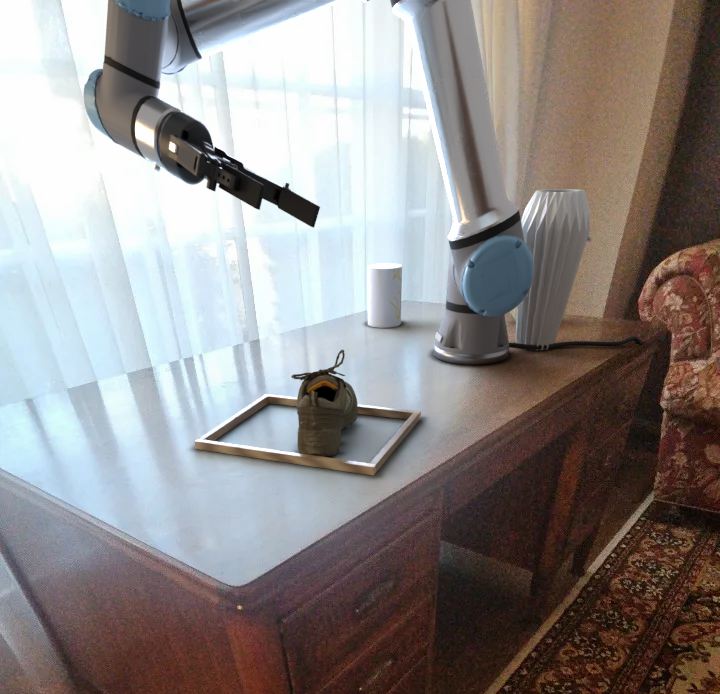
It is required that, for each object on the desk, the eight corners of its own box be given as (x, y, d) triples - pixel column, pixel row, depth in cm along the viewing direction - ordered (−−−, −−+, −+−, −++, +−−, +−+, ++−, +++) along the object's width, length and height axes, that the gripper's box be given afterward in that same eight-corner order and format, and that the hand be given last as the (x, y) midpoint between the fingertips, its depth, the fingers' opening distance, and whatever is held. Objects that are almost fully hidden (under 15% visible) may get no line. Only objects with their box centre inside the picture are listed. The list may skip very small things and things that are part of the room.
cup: (398, 328, 137) (399, 269, 129) (364, 327, 138) (364, 268, 130) (402, 320, 143) (404, 263, 135) (371, 319, 144) (370, 263, 136)
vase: (577, 351, 119) (612, 191, 102) (517, 356, 117) (542, 193, 100) (549, 335, 129) (576, 187, 112) (493, 340, 127) (512, 189, 110)
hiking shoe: (362, 407, 94) (359, 326, 86) (342, 461, 80) (336, 371, 72) (311, 406, 95) (304, 326, 87) (282, 459, 81) (270, 370, 73)
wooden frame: (420, 418, 92) (421, 411, 91) (373, 475, 76) (373, 467, 76) (266, 400, 100) (265, 393, 99) (195, 449, 84) (194, 441, 83)
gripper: (225, 192, 95) (326, 250, 91) (103, 151, 75) (225, 222, 72) (237, 137, 91) (343, 195, 87) (110, 77, 71) (240, 149, 67)
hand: (290, 208), depth 79 cm, fingers open, 13 cm apart
